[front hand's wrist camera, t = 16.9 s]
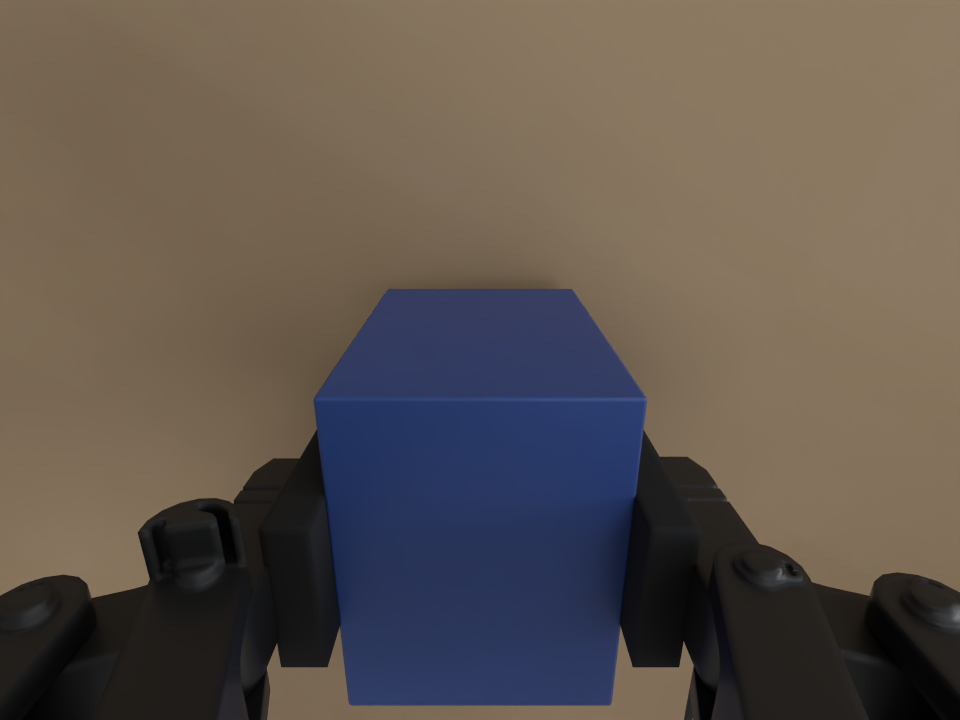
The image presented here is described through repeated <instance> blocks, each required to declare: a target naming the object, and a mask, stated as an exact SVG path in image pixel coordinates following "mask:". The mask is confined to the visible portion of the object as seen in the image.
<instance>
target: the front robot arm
mask: <svg viewBox="0 0 960 720" xmlns="http://www.w3.org/2000/svg"><path fill="white" fill-rule="evenodd" d="M138 536H139V539H140V543H141V547H142V551H143V554H144V558H145V562H146V566H147V570H148V573H149V577H150V581H149V583H148V585H146V586H142V587H139V588H135V589H131V590H127V591H122V592H118V593H113V594H109V595H104V596H100V597H95V598H91V595H90V592H89V589H88V586H87V584H86V583H85V582H84V581H83V580H82V579H80V578H79V577H75V576H68V575H58V576H51V577H44V578H41V579H37V580H34V581H30V582H28V583H25V584H22V585H20V586H18V587H16V588H14V589H12V590H10V591H8V592H7V593H5V594H3V595H1V596H0V720H267V715H268V705H269V696H270V686H269V678H268V673H267V666H268V663H269V661H270V658H271V656H272V653H273V651H274V649H275V646H276V644H277V645H278V651H279V657H280V662H281V667H328V664H329V660H330V657H331V654H332V650H333V647H334V643H335V640H336V637H337V633H338V630H339V627H340V621H339V612H338V603H337V595H336V586H335V578H334V569H333V560H332V552H331V543H330V535H329V526H328V517H327V509H326V500H325V493H324V484H323V476H322V467H321V459H320V450H319V441H318V433H317V430H316V432H315V434H314V435H313V437H312V439H311V441H310V442H309V444H308V446H307V447H306V449H305V451H304V452H303V454H302V456H301V457H300V459H272V460H271V461H269V462H268V463H266V464H265V465H263V466H262V467H261V468H259V469H258V470H256V471H255V472H254V473H253V474H252V476H251V477H250V479H249V480H248V481H247V483H246V484H245V486H244V487H243V491H240V493H239V494H238V495H237V497H236V498H235V500H234V504H232V503H231V502H229V501H225V500H221V499H217V498H208V499H196V500H191V501H187V502H183V503H179V504H177V505H174V506H172V507H170V508H167V509H165V510H163V511H161V512H159V513H158V514H157V515H155V516H154V517H152V518H151V519H149V520H148V521H147V522H146V523H145V524H144V525H143V527H142V528H141V529H140V530H139V531H138ZM620 625H621V629H622V632H623V635H624V639H625V642H626V646H627V649H628V652H629V656H630V659H631V662H632V666H633V667H679V665H680V659H681V653H682V647H683V641H684V643H685V645H686V647H687V650H688V652H689V655H690V657H691V659H692V662H693V664H694V667H693V673H692V678H691V684H690V689H689V695H688V700H687V705H686V711H685V718H684V720H692V718H693V720H960V592H958V591H956V590H954V589H952V588H950V587H948V586H946V585H944V584H942V583H940V582H937V581H935V580H932V579H928V578H925V577H922V576H919V575H913V574H905V573H898V572H897V573H891V574H884V575H882V576H880V577H879V578H878V579H877V580H876V581H874V584H873V587H872V590H871V593H870V596H867V595H862V594H858V593H853V592H849V591H844V590H840V589H835V588H831V587H826V586H823V585H819V584H816V583H813V582H811V580H810V578H809V576H808V575H807V573H806V572H805V571H804V569H803V568H802V566H800V565H799V564H798V563H797V562H795V561H794V560H793V559H792V558H790V557H789V556H788V555H786V554H784V553H782V552H780V551H778V550H776V549H774V548H771V547H769V546H765V545H761V544H759V543H758V542H757V540H756V539H755V537H754V536H753V535H752V533H751V532H750V530H749V529H748V528H747V526H746V525H745V523H744V522H743V521H742V519H741V518H740V516H739V515H738V514H737V512H736V511H735V509H734V508H733V507H732V505H731V504H730V502H727V498H726V497H725V495H724V494H723V493H722V491H721V490H720V489H718V487H717V484H716V483H715V481H714V480H713V479H712V477H711V476H710V474H709V473H708V472H707V470H706V469H704V468H703V467H701V466H700V465H698V464H697V463H695V462H694V461H692V460H691V459H690V458H688V457H659V455H658V453H657V452H656V450H655V448H654V447H653V445H652V443H651V442H650V440H649V438H648V437H647V435H646V433H645V431H644V430H643V437H642V446H641V455H640V463H639V472H638V480H637V489H636V496H635V504H634V513H633V521H632V530H631V539H630V547H629V556H628V564H627V573H626V582H625V590H624V599H623V607H622V616H621V624H620Z"/></svg>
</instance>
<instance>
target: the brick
mask: <svg viewBox="0 0 960 720" xmlns="http://www.w3.org/2000/svg"><path fill="white" fill-rule="evenodd" d="M646 403H647V399H646V397H645V395H644V394H643V392H642V391H641V389H640V388H639V386H638V385H637V383H636V382H635V381H634V379H633V378H632V376H631V375H630V373H629V372H628V370H627V369H626V367H625V366H624V364H623V363H622V361H621V360H620V359H619V357H618V356H617V354H616V353H615V351H614V350H613V348H612V347H611V345H610V344H609V342H608V341H607V339H606V338H605V337H604V335H603V334H602V332H601V331H600V329H599V328H598V326H597V325H596V323H595V322H594V320H593V319H592V317H591V316H590V315H589V313H588V312H587V310H586V309H585V307H584V306H583V304H582V303H581V301H580V300H579V298H578V297H577V295H576V294H575V293H574V291H573V290H572V289H389V290H387V291H386V293H385V294H384V296H383V297H382V299H381V300H380V302H379V303H378V305H377V306H376V308H375V309H374V311H373V312H372V314H371V315H370V316H369V318H368V319H367V321H366V322H365V324H364V325H363V327H362V328H361V330H360V331H359V333H358V334H357V336H356V337H355V339H354V340H353V342H352V343H351V344H350V346H349V347H348V349H347V350H346V352H345V353H344V355H343V356H342V358H341V359H340V361H339V362H338V364H337V365H336V367H335V368H334V369H333V371H332V372H331V374H330V375H329V377H328V378H327V380H326V381H325V383H324V384H323V386H322V387H321V389H320V390H319V392H318V393H317V395H316V396H315V398H314V407H315V416H316V424H317V433H318V441H319V450H320V459H321V467H322V476H323V484H324V493H325V500H326V509H327V517H328V526H329V535H330V543H331V552H332V560H333V569H334V578H335V586H336V595H337V603H338V612H339V621H340V631H341V639H342V648H343V656H344V665H345V674H346V682H347V691H348V699H349V704H350V705H611V702H612V695H613V686H614V677H615V669H616V660H617V652H618V643H619V635H620V626H621V625H620V624H621V616H622V607H623V599H624V590H625V582H626V573H627V564H628V556H629V547H630V539H631V530H632V521H633V513H634V504H635V496H636V489H637V480H638V472H639V463H640V455H641V446H642V437H643V429H644V420H645V412H646Z"/></svg>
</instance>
